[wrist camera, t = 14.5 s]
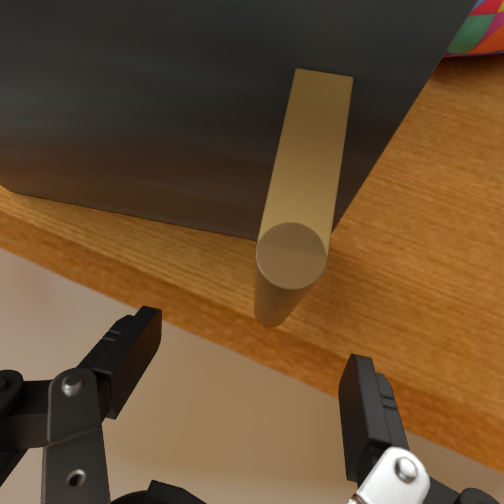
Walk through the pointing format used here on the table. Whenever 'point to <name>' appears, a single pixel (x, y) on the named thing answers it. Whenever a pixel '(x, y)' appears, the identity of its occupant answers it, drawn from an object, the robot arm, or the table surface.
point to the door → (216, 113)
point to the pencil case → (480, 31)
